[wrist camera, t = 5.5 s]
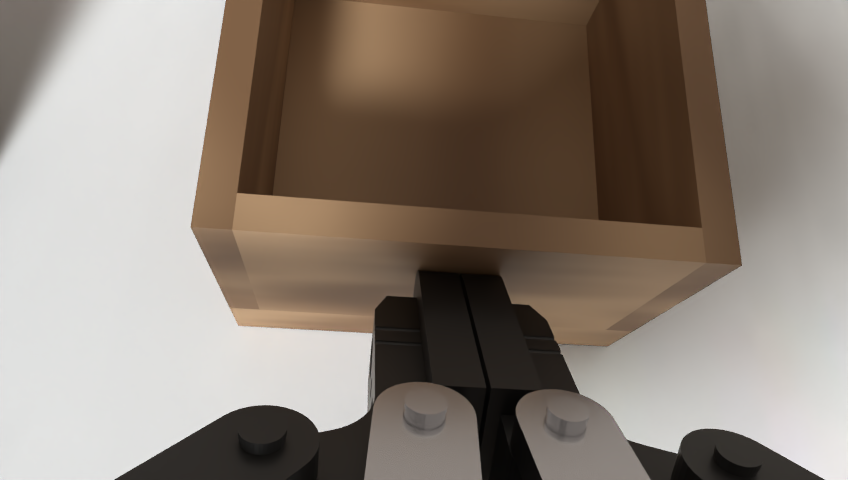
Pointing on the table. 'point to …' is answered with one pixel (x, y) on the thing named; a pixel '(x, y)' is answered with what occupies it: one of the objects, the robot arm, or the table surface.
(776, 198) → the table surface
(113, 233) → the table surface
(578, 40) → the walnut holder
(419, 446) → the robot arm
